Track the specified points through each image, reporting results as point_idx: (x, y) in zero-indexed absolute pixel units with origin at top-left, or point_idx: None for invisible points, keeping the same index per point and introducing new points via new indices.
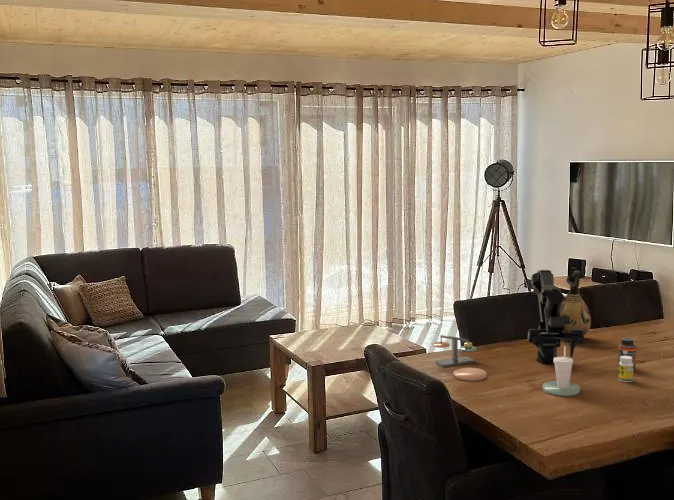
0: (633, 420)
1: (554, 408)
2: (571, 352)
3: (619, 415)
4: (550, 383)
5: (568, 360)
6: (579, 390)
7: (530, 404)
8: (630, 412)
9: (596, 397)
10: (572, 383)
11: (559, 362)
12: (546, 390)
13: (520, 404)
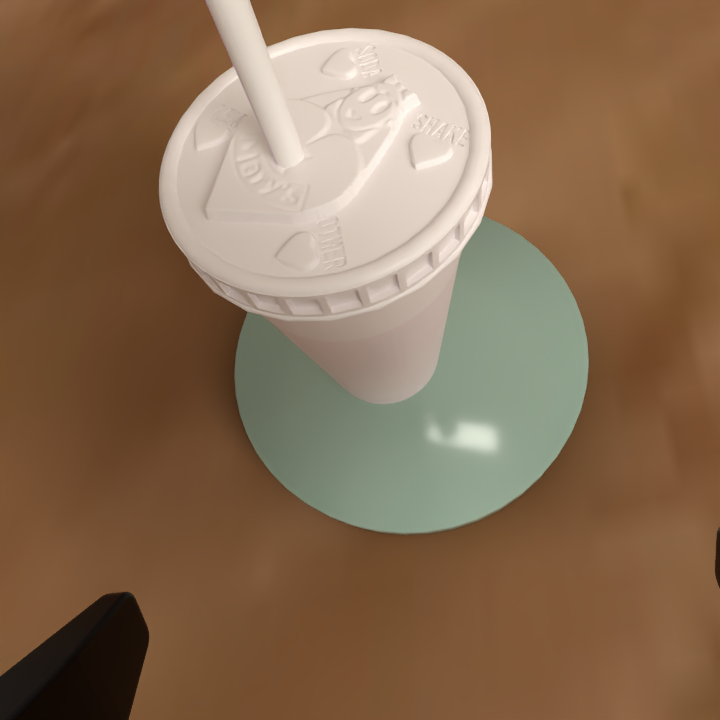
0: (63, 9)
1: (457, 16)
2: (61, 652)
3: (107, 41)
4: (512, 423)
5: (239, 126)
6: (249, 318)
7: (627, 24)
8: (36, 92)
9: (151, 266)
10: (284, 469)
11: (390, 51)
12: (537, 256)
13: (701, 4)
